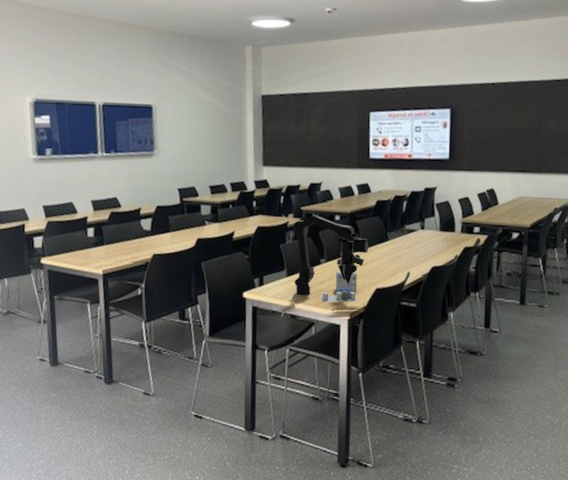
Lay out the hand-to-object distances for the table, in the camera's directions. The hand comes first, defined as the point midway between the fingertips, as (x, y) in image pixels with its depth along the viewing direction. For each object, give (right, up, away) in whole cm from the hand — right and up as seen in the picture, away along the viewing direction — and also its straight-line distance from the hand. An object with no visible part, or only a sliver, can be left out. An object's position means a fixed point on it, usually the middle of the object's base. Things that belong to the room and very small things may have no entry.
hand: (346, 281), depth 304 cm
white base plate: (-4, -10, +1) cm, 11 cm away
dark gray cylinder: (0, -9, +1) cm, 9 cm away
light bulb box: (+2, -7, +21) cm, 22 cm away
